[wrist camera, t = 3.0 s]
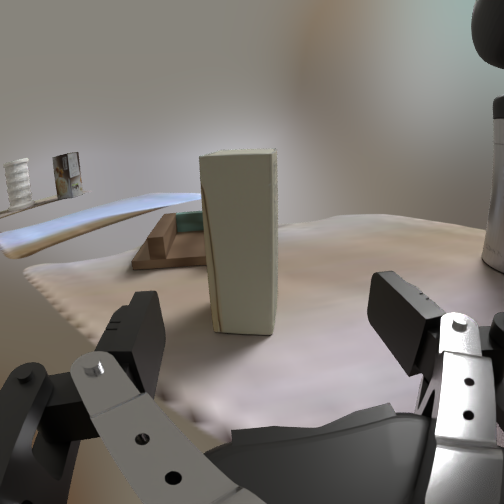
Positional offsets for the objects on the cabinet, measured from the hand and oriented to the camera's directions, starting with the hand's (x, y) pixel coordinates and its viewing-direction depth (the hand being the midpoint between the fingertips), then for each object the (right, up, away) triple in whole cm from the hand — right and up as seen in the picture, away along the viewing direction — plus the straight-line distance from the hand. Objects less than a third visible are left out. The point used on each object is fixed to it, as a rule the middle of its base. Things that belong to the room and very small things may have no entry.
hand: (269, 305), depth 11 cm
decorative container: (-87, +18, +80) cm, 120 cm away
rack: (-7, +2, +27) cm, 28 cm away
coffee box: (-67, +22, +87) cm, 112 cm away
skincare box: (-1, -3, +13) cm, 13 cm away
